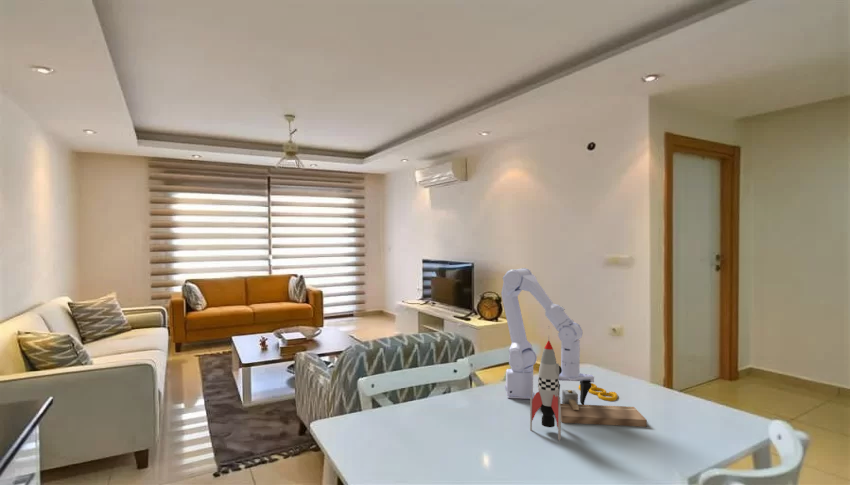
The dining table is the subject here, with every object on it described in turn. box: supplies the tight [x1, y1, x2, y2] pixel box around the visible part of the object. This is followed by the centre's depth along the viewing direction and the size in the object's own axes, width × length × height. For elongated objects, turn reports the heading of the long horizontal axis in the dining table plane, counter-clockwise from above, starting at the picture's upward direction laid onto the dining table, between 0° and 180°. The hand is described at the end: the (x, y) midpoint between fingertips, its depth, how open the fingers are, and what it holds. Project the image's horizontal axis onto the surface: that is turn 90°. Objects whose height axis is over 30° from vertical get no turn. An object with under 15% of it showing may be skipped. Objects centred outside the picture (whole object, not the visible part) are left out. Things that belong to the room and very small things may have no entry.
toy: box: [529, 325, 562, 441], centre depth 124 cm, size 9×8×30 cm
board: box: [560, 403, 648, 428], centre depth 134 cm, size 24×10×2 cm, turn 84°
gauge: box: [561, 389, 579, 410], centre depth 139 cm, size 4×10×6 cm, turn 174°
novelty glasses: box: [578, 382, 618, 402], centre depth 156 cm, size 17×2×10 cm
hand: (569, 403), depth 142 cm, fingers open, 7 cm apart
